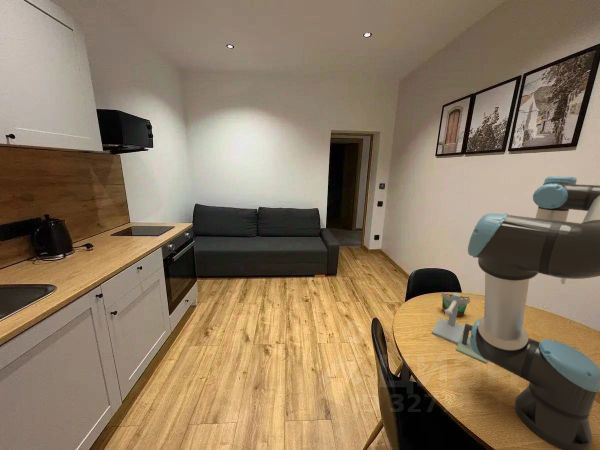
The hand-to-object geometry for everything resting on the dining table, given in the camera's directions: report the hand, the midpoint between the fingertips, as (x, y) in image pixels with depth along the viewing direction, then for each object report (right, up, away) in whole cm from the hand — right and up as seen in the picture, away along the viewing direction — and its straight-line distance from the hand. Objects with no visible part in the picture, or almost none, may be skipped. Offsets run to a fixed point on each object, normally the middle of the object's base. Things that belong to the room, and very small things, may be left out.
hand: (535, 276), depth 89 cm
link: (-18, -30, +8) cm, 36 cm away
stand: (-21, -28, +18) cm, 40 cm away
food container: (-11, -26, +30) cm, 41 cm away
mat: (-18, -31, +8) cm, 36 cm away
